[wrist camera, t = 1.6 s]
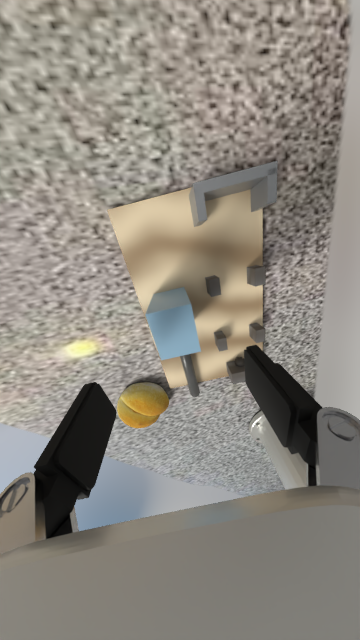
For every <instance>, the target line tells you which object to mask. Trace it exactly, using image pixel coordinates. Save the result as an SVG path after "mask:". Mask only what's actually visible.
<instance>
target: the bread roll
mask: <svg viewBox="0 0 360 640" xmlns="http://www.w3.org/2000/svg"><path fill="white" fill-rule="evenodd" d="M168 405H169V399H168V396H167V394H166V392H165V391H164V390H163V388H162V387H161V386H159V385H157V384H155V383H150V382H142V383H136V384H132V385H130V386H129V387H127V388H126V389H125V390H124V391H123V392H122V394H121V396H120V398H119V400H118V404H117V411H118V414H119V417H120V418H121V420H122V421H123V422H124V423H125V424H127V425H128V426H130V427H133V428H144V427H147V426H149V425H151V424H153V423H155V422H156V421H157V419H158V417H159V415H160V414H161V413H163V412H164V411H165V410H166V409H167V407H168Z"/></svg>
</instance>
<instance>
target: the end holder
mask: <svg viewBox="0 0 360 640" xmlns="http://www.w3.org/2000/svg"><path fill="white" fill-rule="evenodd" d="M277 163H278V161H275V162H271V163H267V164H263V165H260V166H256V167H252V168H248V169H245V170H241V171H237V172H234V173H230V174H226V175H222V176H219V177H215V178H211V179H207V180H204V181H200V182H196V183H193V185H192V188H191V191H190V194H189V200H190V206H191V212H192V218H193V224H194V227H196V226H200V225H202V224H203V223H204V222H205V221H206V220H207V213H206V205H205V201H208V200H212V199H216V198H220V197H223V196H227V195H231V194H235V193H239V192H243V191H246V190H250V191H251V212H255V211H258V210H260V209H263V208H265V207H267V206H269V205H271V204H273V203H275V202H276V197H277Z"/></svg>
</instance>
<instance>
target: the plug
mask: <svg viewBox="0 0 360 640" xmlns="http://www.w3.org/2000/svg"><path fill="white" fill-rule="evenodd" d="M145 316H146V319H147V321H148V324H149V327H150V330H151V333H152V336H153V338H154V341H155V344H156V347H157V350H158V353H159V356H160V358H161V360H165V359H170V358H174V357H179V356H180V358H181V362H182V365H183V369H184V372H185V376H186V380H187V383H188V387H189V390H190V394H191V395H192V396H193V397H197V396H198V395H199V393H200V391H199V387H198V382H197V378H196V374H195V370H194V366H193V362H192V358H191V354H192V353H196V352H201V349H200V344H199V339H198V335H197V330H196V325H195V320H194V315H193V311H192V306H191V302H190V300H189V298H188V295H187V293H186V290H185V288H184V287H181V288H177V289H173V290H169V291H165V292H161V293H156V294H153V296H152V299H151V301H150V304H149V306H148V309H147V311H146V314H145Z"/></svg>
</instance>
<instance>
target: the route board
mask: <svg viewBox="0 0 360 640" xmlns="http://www.w3.org/2000/svg"><path fill="white" fill-rule="evenodd" d="M191 188H192V187H191ZM191 188H188V189H184V190H180V191H176V192H173V193H169V194H165V195H161V196H158V197H154V198H150V199H146V200H143V201H139V202H135V203H131V204H128V205H124V206H120V207H116V208H113V209H109V210H107V211H108V214H109V217H110V220H111V223H112V225H113V228H114V231H115V234H116V237H117V239H118V242H119V245H120V248H121V251H122V254H123V256H124V259H125V262H126V265H127V268H128V270H129V273H130V276H131V279H132V282H133V285H134V287H135V290H136V293H137V296H138V299H139V302H140V304H141V307H142V310H143V313H144V316H145V314H146V311H147V309H148V306H149V304H150V301H151V299H152V296H153V294H156V293H161V292H165V291H169V290H173V289H177V288H181V287H184V288H185V290H186V293H187V295H188V298H189V300H190V302H191V306H192V311H193V315H194V320H195V325H196V330H197V335H198V339H199V344H200V349H201V352H196V353H192V354H191V358H192V362H193V366H194V370H195V374H196V378H197V382H198V383H199V382H203V381H208V380H212V379H217V378H221V377H226V376H229V377H230V379H231V381H232V383H233V384H236V383H240V382H245V364H244V350H246V347H248V346H252V345H257V346H259V348H260V349H261V350H262V351H263V342H264V341H265V328H264V327H263V285H264V284H265V282H266V266H263V209H260V210H258V211H255V212H251V191H250V190H246V191H243V192H239V193H235V194H231V195H227V196H223V197H220V198H216V199H212V200H208V201H205V205H206V213H207V220H206V221H205V222H204V223H203V224H202V225H200V226H196V227H194V224H193V218H192V212H191V206H190V200H189V194H190V191H191ZM145 318H146V316H145ZM146 321H147V319H146ZM147 324H148V321H147ZM148 327H149V324H148ZM149 330H150V327H149ZM150 333H151V330H150ZM151 335H152V333H151ZM152 338H153V336H152ZM153 341H154V338H153ZM154 344H155V341H154ZM155 347H156V344H155ZM156 349H157V347H156ZM157 352H158V350H157ZM158 355H159V353H158ZM159 358H160V356H159ZM160 361H161V364H162V366H163V369H164V372H165V375H166V378H167V381H168V383H169V386H170V389H171V388H176V387H180V386H185V385H188V383H187V380H186V376H185V372H184V369H183V365H182V362H181V358H180V356H179V357H174V358H170V359H165V360H161V358H160Z"/></svg>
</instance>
